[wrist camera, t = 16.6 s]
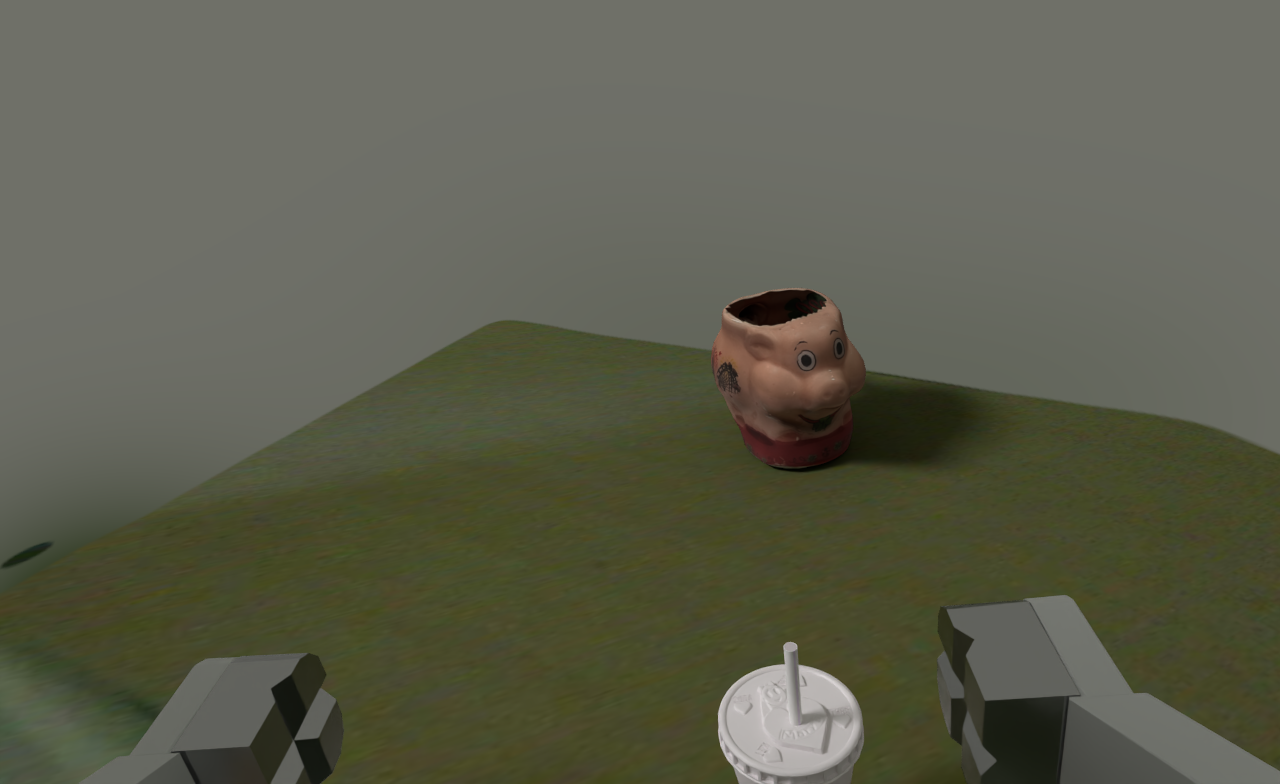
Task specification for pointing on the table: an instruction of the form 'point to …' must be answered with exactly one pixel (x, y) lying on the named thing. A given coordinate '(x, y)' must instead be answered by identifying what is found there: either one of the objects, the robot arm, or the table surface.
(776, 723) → the smoothie
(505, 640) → the table surface
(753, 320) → the cartoon character mug
